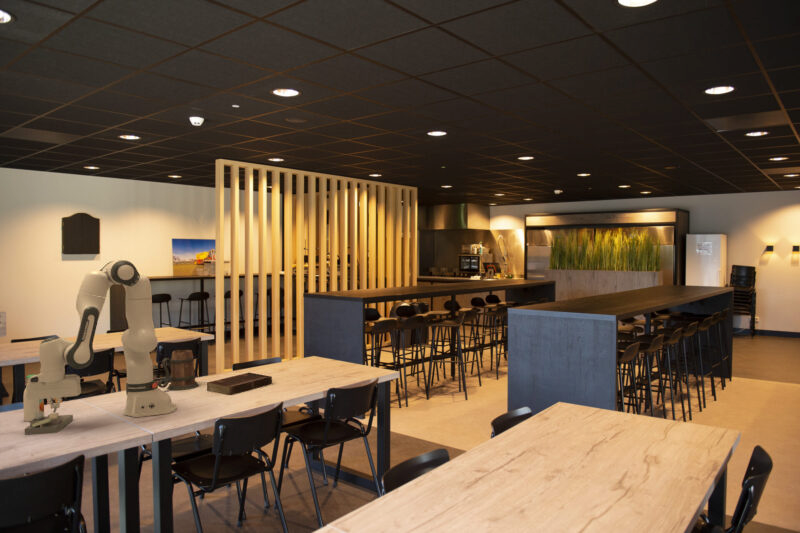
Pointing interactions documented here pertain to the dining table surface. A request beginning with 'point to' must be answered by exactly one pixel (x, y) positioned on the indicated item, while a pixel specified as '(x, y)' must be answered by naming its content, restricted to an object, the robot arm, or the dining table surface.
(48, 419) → the rocker sage
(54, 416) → the button cream
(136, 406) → the robot arm
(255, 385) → the dark brown flat block
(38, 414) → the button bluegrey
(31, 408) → the milk bottle
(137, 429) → the dining table surface
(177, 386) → the tankard
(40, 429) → the panel
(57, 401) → the toggle lever
